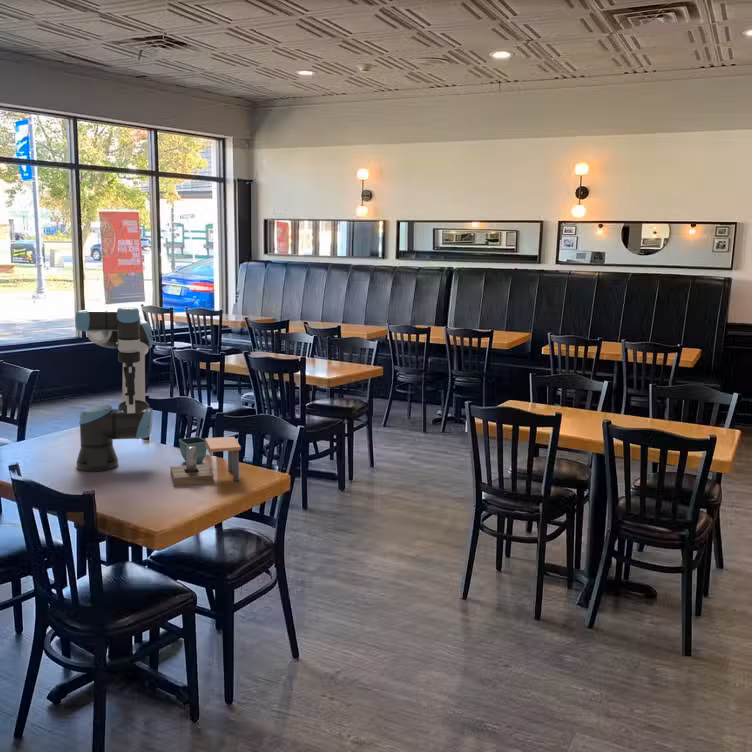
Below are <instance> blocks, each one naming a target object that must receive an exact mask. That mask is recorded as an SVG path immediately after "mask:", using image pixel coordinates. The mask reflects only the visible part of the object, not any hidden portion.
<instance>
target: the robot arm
mask: <svg viewBox="0 0 752 752" xmlns="http://www.w3.org/2000/svg"><path fill="white" fill-rule="evenodd" d="M75 329H76V330H77V331H79V332H86V336H87V339H88V340H89V341H91V342H92V343H93V344H95V345H97V346H100V347H103V348H108V349H117V350H118V352H117V361H118V363H122V398H121V399H122V401H121V402H120V403H119V404H118V409H117V408H116V409H114V408H113V407H112V405H109V404H99V405H94V406H93V405H92V406H90V407H87V408H84V409H83V410H81V411H80V413H79V428H80V429H79V432H80V434H79V435H80V436H79V437H80V448H79V452H78V455H77V458H76V469H77V470H80V471H81V472H82V471H83V472H104V471H108V470H112V469H115V468H116V467H118V466H119V459H118V456H117V453H116V451H115V448H114V445H113V443H114V440H135V439H137V440H139V439H146V438H147V439H148V438H149V437H150V435H151V433H152V428H153V427H152V425H153V418H154V410H153V408H151V407H150V404H149V403H148V402H147V401H146V363H145V362H146V355H147V354H148V352H149V349H151V348H152V347H153V338H152V332H151V327H150V323H149V322H148V321H147V320H142V319H141V317H140V310H139V308H137V307H133V306H125V307H124V306H123V307H118V308H117V310H116V309H115V310H111V309H110V310H109V309H107V310H93V309H88V310H87V309H82V310H77V311H76V312H75Z"/></svg>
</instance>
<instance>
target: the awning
mask: <svg viewBox="0 0 752 752" xmlns="http://www.w3.org/2000/svg"><path fill="white" fill-rule="evenodd" d="M204 440H205V446H206V448H207V453H209V457H213V456H214V455H213V454H214V453H215V452H216V453H217V452H227V471H228V472H232V473H233V474H232V476H233V479H232V480H233V482H238V481H239V480H240V477H239V476H240V474H239V473H240V471H239V470H240V467H239V465H240V463H239V461H240V460H239V458H240V456H239V455H240V454H239V453H240V451H241V450H242V449H241V448H242V446H241V445H240V444H239V442H238V440H237V438H235V436H225V437H224V436H223V437H222V436H221V437H220V436H219V437H205V438H204Z"/></svg>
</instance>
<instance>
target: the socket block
mask: <svg viewBox="0 0 752 752" xmlns="http://www.w3.org/2000/svg"><path fill="white" fill-rule="evenodd" d="M170 477H171V480H172V483H173V487H177V486H189V485H203V484H213V483H214V474H213V472H212V469H211V467H210V465H209V463H205V464H196V473H187V472H186V465H177V466H176V465H175V466H170Z"/></svg>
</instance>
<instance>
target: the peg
mask: <svg viewBox="0 0 752 752" xmlns="http://www.w3.org/2000/svg"><path fill="white" fill-rule="evenodd" d="M185 463H186V465H185V466H186V472H187V473H196V465H197V463H196V447H195V446H188V447H186V461H185Z"/></svg>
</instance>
